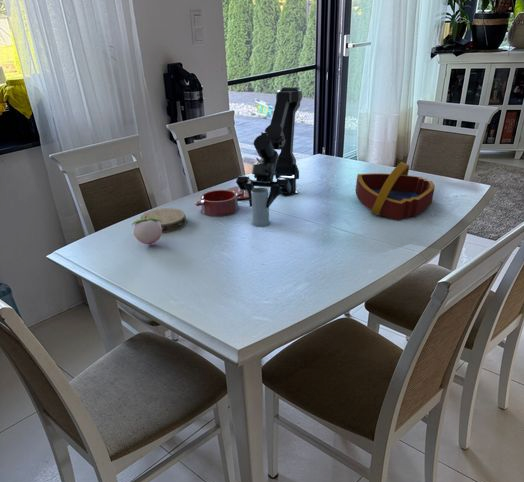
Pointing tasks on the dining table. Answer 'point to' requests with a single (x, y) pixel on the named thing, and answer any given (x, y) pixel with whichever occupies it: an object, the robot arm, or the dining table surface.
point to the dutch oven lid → (237, 189)
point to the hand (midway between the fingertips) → (258, 206)
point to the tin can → (168, 218)
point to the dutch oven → (219, 202)
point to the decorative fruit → (147, 230)
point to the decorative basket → (394, 193)
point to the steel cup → (260, 206)
